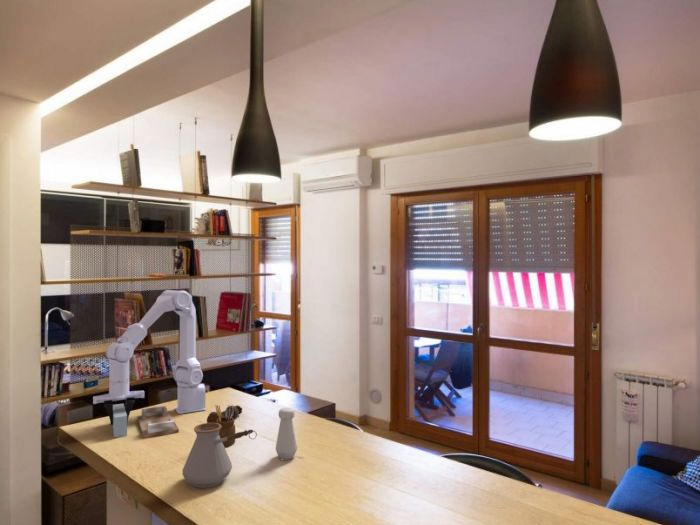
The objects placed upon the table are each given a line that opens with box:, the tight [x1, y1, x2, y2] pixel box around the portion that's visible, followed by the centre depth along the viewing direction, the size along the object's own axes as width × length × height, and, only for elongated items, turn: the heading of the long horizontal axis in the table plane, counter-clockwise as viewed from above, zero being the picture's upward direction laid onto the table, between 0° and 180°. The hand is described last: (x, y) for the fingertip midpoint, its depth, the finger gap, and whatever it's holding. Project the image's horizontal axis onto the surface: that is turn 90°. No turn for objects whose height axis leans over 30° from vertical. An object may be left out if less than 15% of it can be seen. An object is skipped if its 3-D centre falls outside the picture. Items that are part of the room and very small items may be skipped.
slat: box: [111, 403, 128, 439], centre depth 146 cm, size 4×15×6 cm, turn 30°
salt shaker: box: [275, 407, 298, 461], centre depth 125 cm, size 6×6×13 cm
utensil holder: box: [214, 403, 236, 447], centre depth 134 cm, size 6×6×12 cm
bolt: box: [206, 405, 243, 423], centre depth 154 cm, size 6×5×15 cm
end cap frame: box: [136, 405, 180, 439], centre depth 149 cm, size 10×20×4 cm, turn 30°
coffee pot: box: [182, 422, 258, 489], centre depth 108 cm, size 21×12×15 cm, turn 57°
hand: (119, 423), depth 146 cm, fingers closed on slat, 3 cm apart
